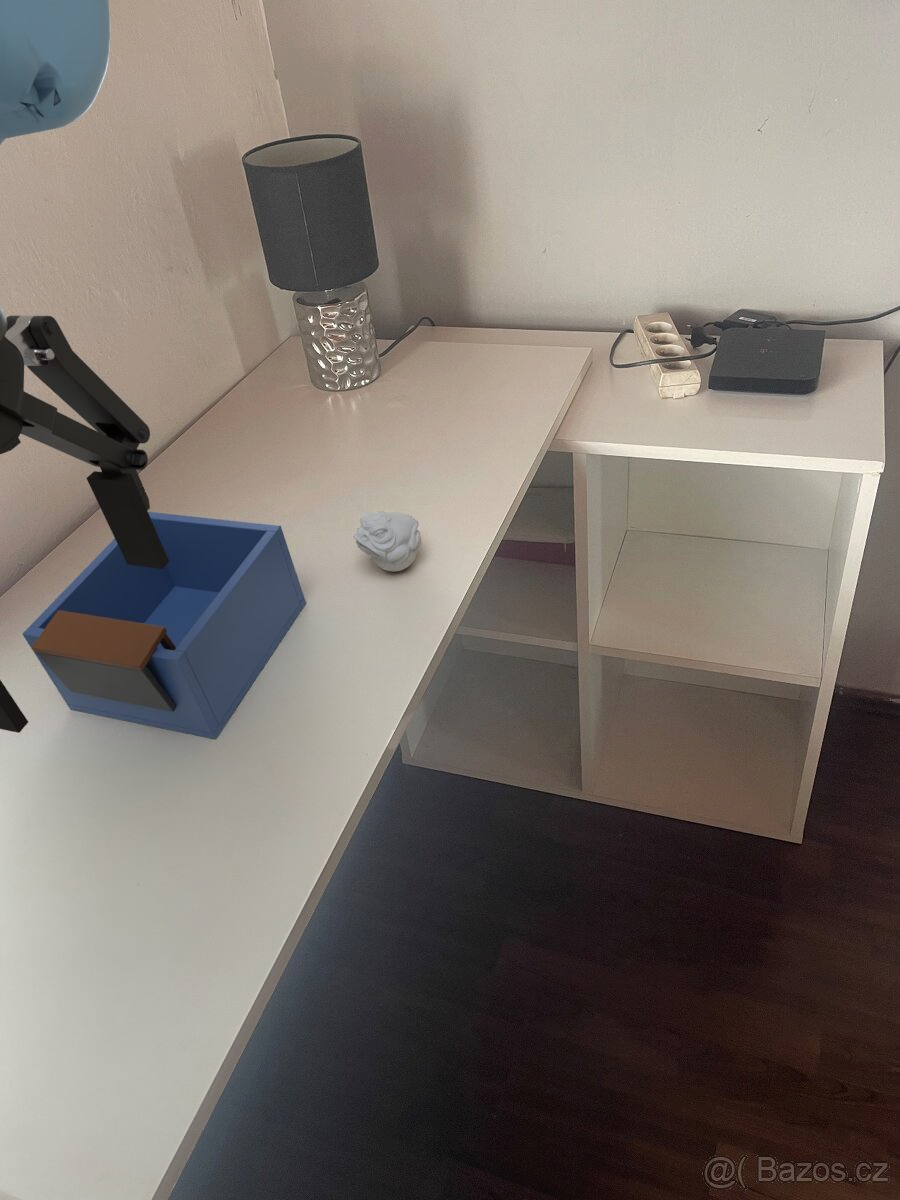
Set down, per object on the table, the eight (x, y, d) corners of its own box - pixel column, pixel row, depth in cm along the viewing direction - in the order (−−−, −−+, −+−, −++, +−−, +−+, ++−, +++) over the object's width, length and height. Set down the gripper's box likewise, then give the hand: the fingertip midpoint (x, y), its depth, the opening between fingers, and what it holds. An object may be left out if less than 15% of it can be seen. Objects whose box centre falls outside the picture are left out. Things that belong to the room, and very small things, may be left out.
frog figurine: (352, 568, 91) (337, 514, 86) (408, 539, 93) (396, 485, 88) (381, 596, 87) (367, 541, 82) (439, 565, 89) (429, 510, 84)
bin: (215, 739, 75) (177, 660, 69) (69, 709, 80) (21, 633, 74) (306, 603, 87) (281, 525, 81) (174, 584, 93) (141, 510, 86)
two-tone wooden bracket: (173, 712, 73) (138, 666, 68) (70, 692, 77) (30, 647, 72) (196, 673, 75) (164, 626, 71) (95, 655, 79) (58, 609, 74)
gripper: (-347, 420, 26) (-16, 827, 40) (122, 173, 44) (242, 515, 57) (-492, 411, 29) (-133, 797, 43) (8, 180, 46) (149, 507, 60)
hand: (83, 636), depth 50 cm, fingers open, 13 cm apart
